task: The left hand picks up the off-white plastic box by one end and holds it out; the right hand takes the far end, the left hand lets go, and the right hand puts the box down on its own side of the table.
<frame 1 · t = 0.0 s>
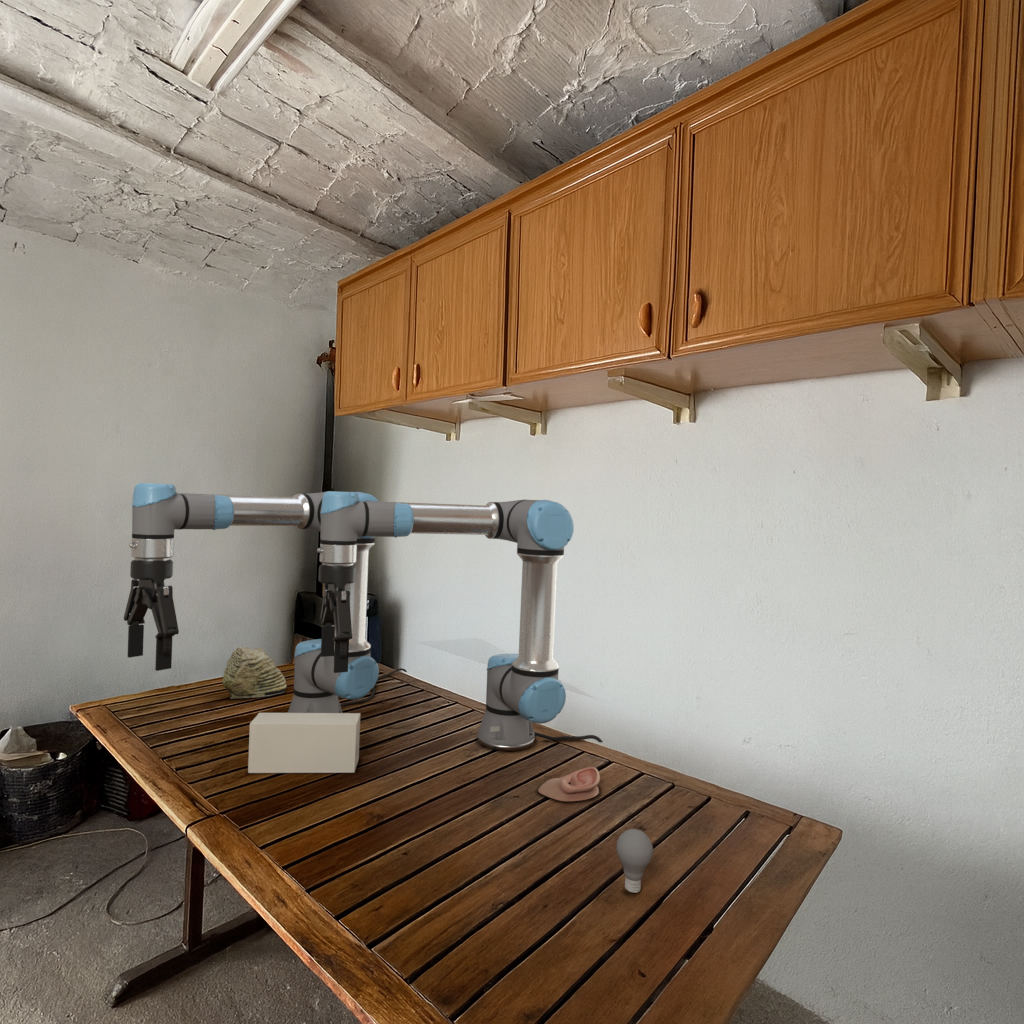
left hand: (148, 662, 129), 28 cm above the table, tool pointing down, fingers open, 13 cm apart
right hand: (333, 663, 135), 28 cm above the table, tool pointing down, fingers open, 13 cm apart
anatomical model: (569, 791, 141), on the table
fossil: (254, 694, 198), on the table
box: (305, 766, 148), on the table
light bulb: (632, 891, 106), on the table
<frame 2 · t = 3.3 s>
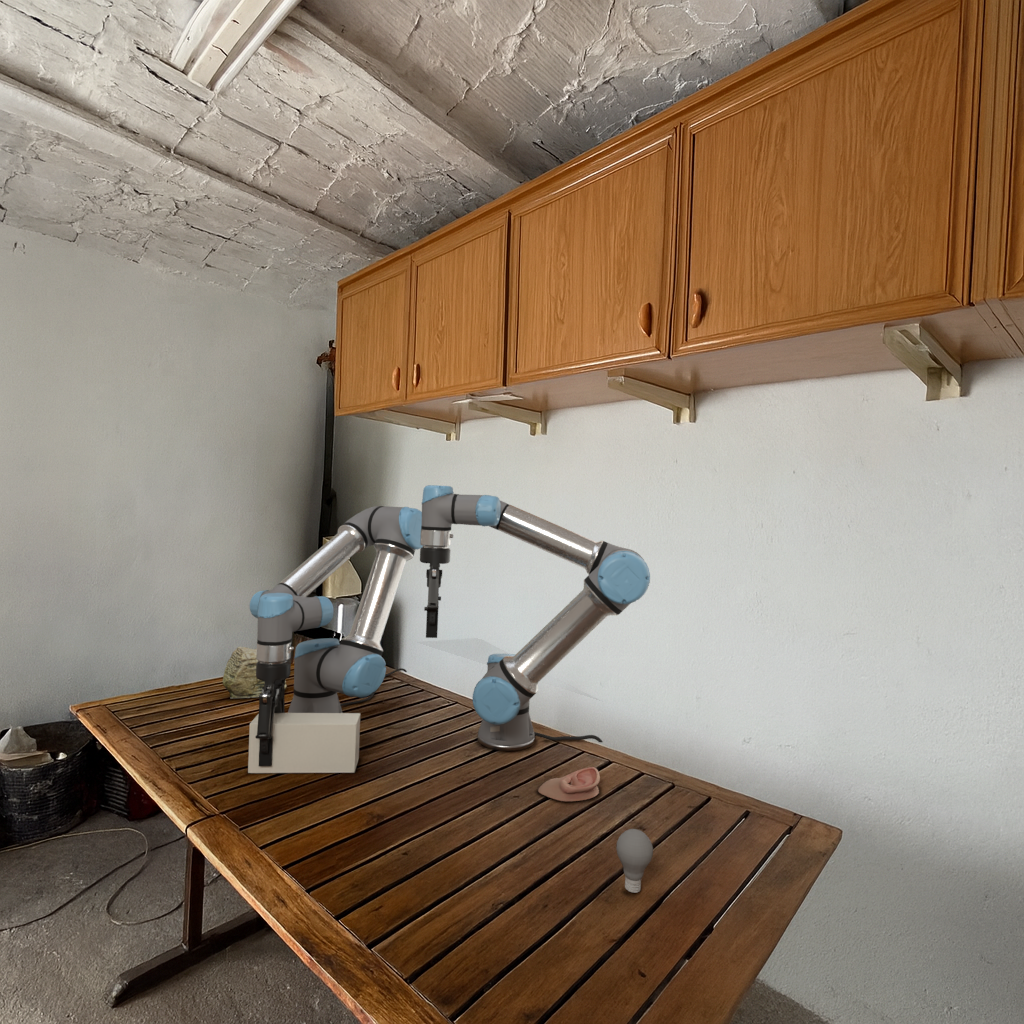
left hand: (270, 757, 147), 2 cm above the table, tool pointing down, fingers closed on box, 7 cm apart
right hand: (431, 631, 159), 31 cm above the table, tool pointing down, fingers open, 13 cm apart
box: (305, 766, 148), on the table, touching left hand
everything else where it was.
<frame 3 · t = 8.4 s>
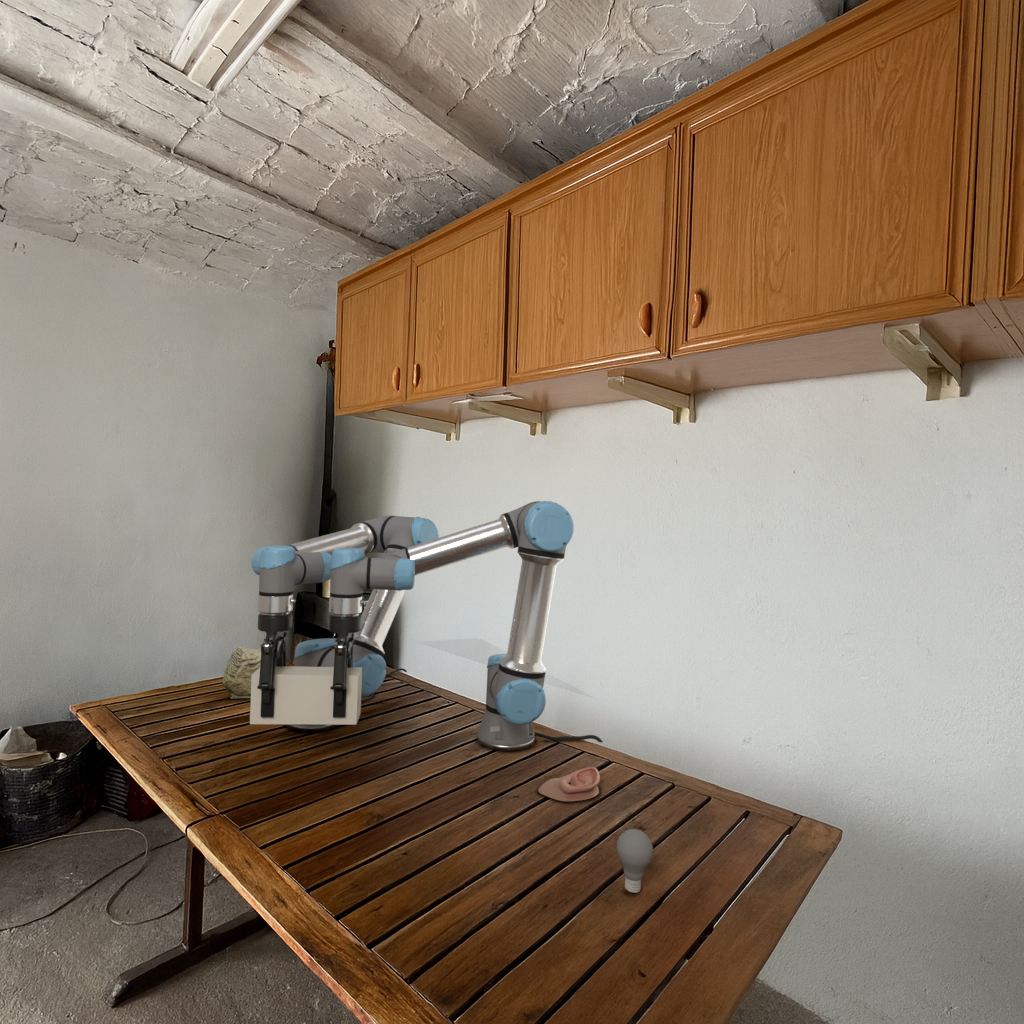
left hand: (272, 710, 147), 13 cm above the table, tool pointing down, fingers closed on box, 7 cm apart
right hand: (341, 710, 149), 13 cm above the table, tool pointing down, fingers closed on box, 7 cm apart
box: (307, 718, 148), point 11 cm above the table, touching left hand, right hand
everything else where it was.
when the left hand's fingers open (13 cm above the table, at t = 9.4 s): box stays where it is, held by the right hand.
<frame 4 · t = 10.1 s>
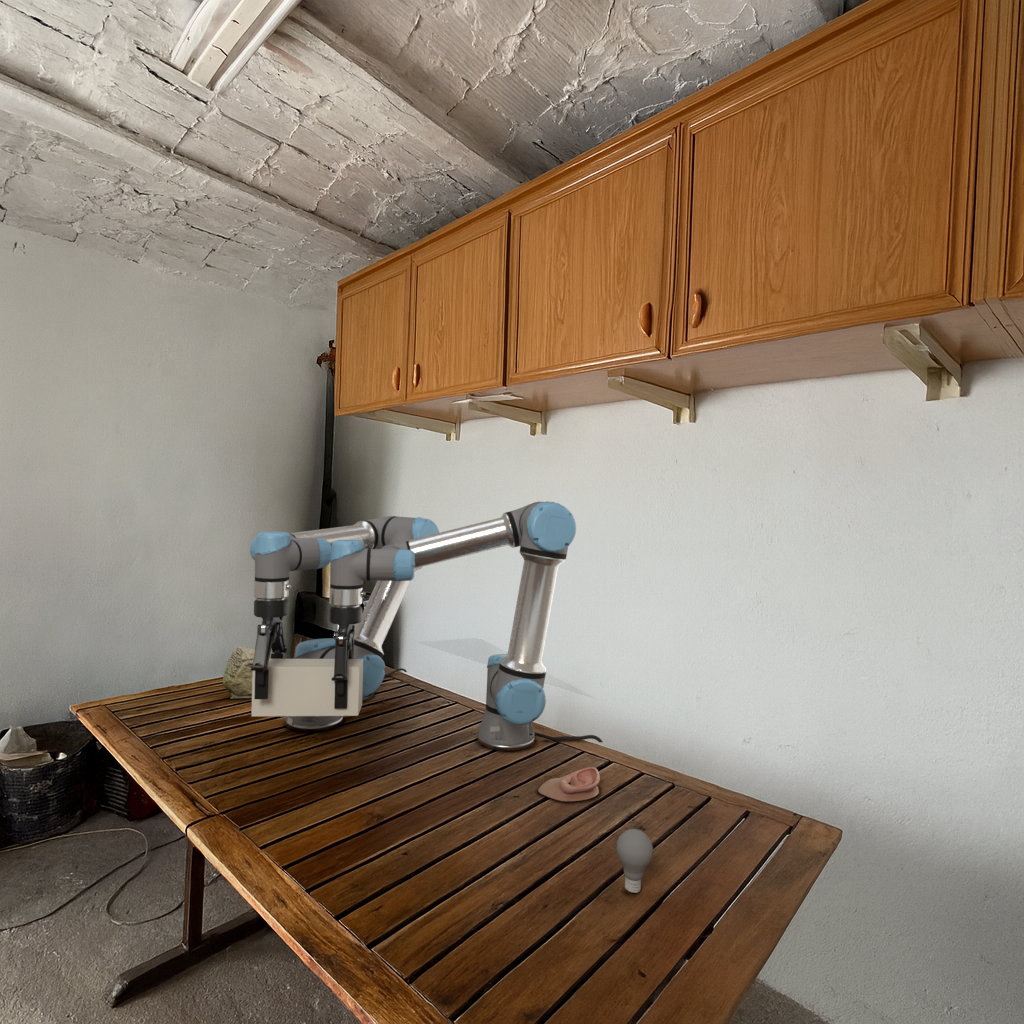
left hand: (269, 689, 147), 18 cm above the table, tool pointing down, fingers open, 13 cm apart
right hand: (343, 702, 149), 15 cm above the table, tool pointing down, fingers closed on box, 7 cm apart
box: (308, 710, 148), point 13 cm above the table, touching right hand
everything else where it was.
when the right hand's fingers open (4 cm above the table, at t = 14.7 s): box drops 2 cm, on the table.
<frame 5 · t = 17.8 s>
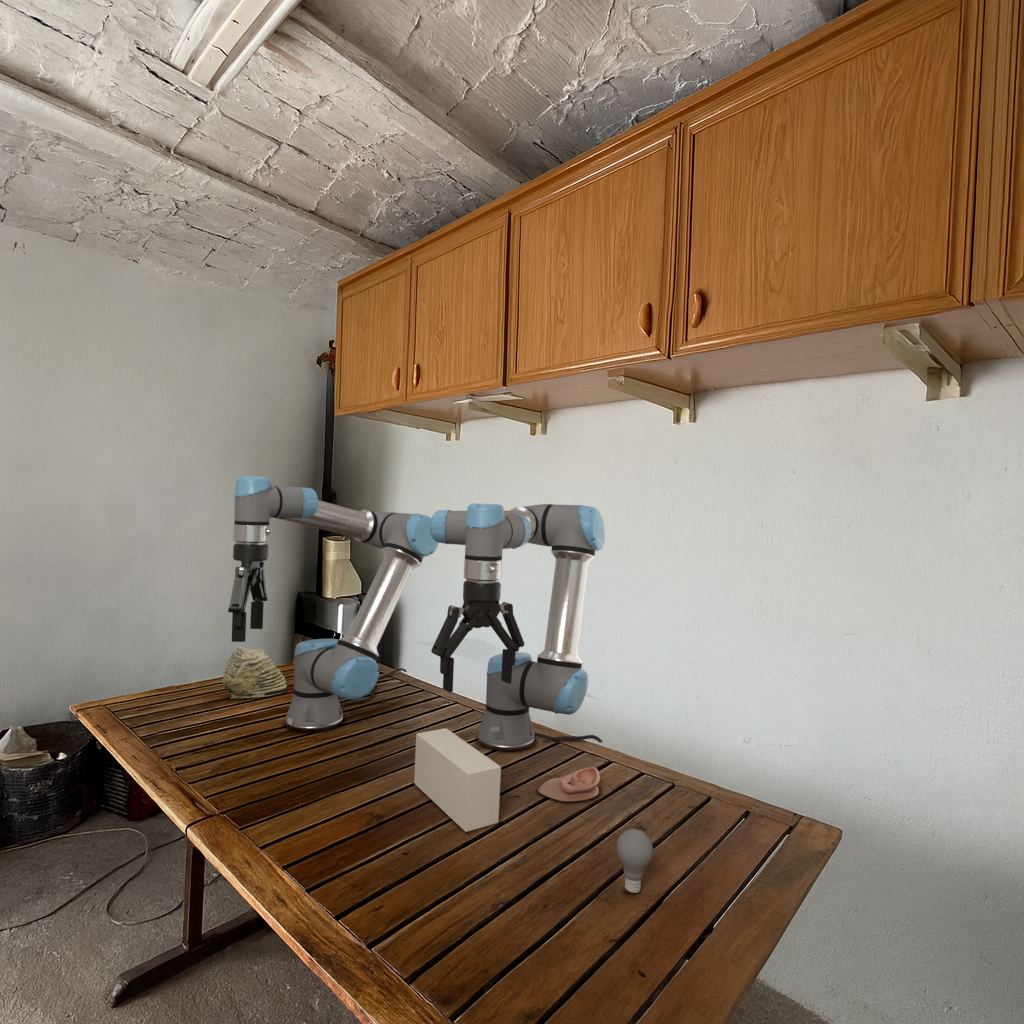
left hand: (247, 635, 146), 31 cm above the table, tool pointing down, fingers open, 13 cm apart
right hand: (477, 686, 127), 27 cm above the table, tool pointing down, fingers open, 13 cm apart
box: (453, 801, 134), on the table
everything else where it was.
at the end: box inside the target area (7.8 cm from its centre), on the table; the left hand is holding nothing; the right hand is holding nothing; box at rest at the end (0.0 cm/s) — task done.
